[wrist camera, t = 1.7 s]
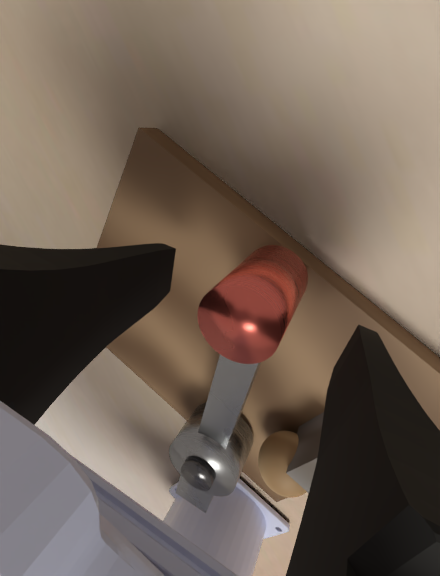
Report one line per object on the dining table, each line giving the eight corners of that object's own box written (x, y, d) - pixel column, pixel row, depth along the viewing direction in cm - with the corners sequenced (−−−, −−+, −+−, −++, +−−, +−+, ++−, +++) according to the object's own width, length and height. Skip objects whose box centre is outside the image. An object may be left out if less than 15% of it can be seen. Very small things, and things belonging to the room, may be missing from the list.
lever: (234, 484, 22) (204, 556, 18) (183, 452, 23) (145, 513, 20) (335, 264, 13) (316, 319, 9) (240, 229, 14) (187, 264, 10)
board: (282, 482, 23) (262, 552, 19) (88, 307, 24) (33, 339, 20) (481, 391, 14) (520, 487, 10) (157, 128, 15) (85, 125, 12)
